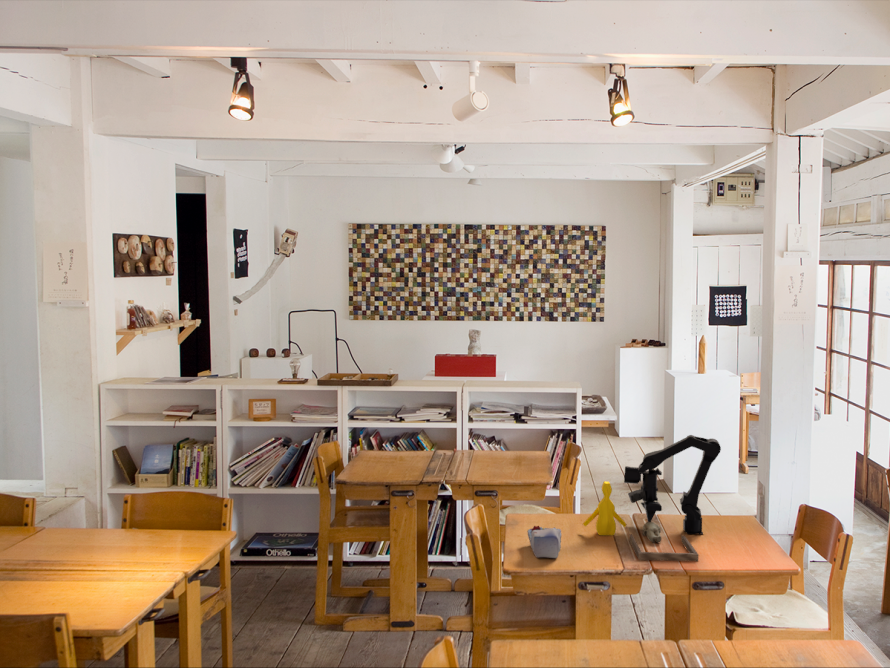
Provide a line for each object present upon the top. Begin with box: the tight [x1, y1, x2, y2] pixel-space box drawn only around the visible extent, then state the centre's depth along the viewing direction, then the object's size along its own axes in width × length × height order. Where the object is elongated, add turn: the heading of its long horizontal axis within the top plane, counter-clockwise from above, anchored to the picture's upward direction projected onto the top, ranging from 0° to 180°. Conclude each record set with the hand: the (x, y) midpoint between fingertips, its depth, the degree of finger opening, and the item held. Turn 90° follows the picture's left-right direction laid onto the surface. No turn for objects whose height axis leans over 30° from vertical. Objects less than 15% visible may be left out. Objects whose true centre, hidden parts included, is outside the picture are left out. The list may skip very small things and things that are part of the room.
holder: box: [628, 533, 699, 562], centre depth 284 cm, size 21×21×2 cm
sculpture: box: [642, 521, 662, 544], centre depth 298 cm, size 7×5×15 cm
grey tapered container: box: [527, 525, 562, 559], centre depth 283 cm, size 13×11×20 cm
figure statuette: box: [582, 481, 627, 536], centre depth 302 cm, size 18×8×22 cm, turn 88°
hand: (649, 521), depth 310 cm, fingers closed
